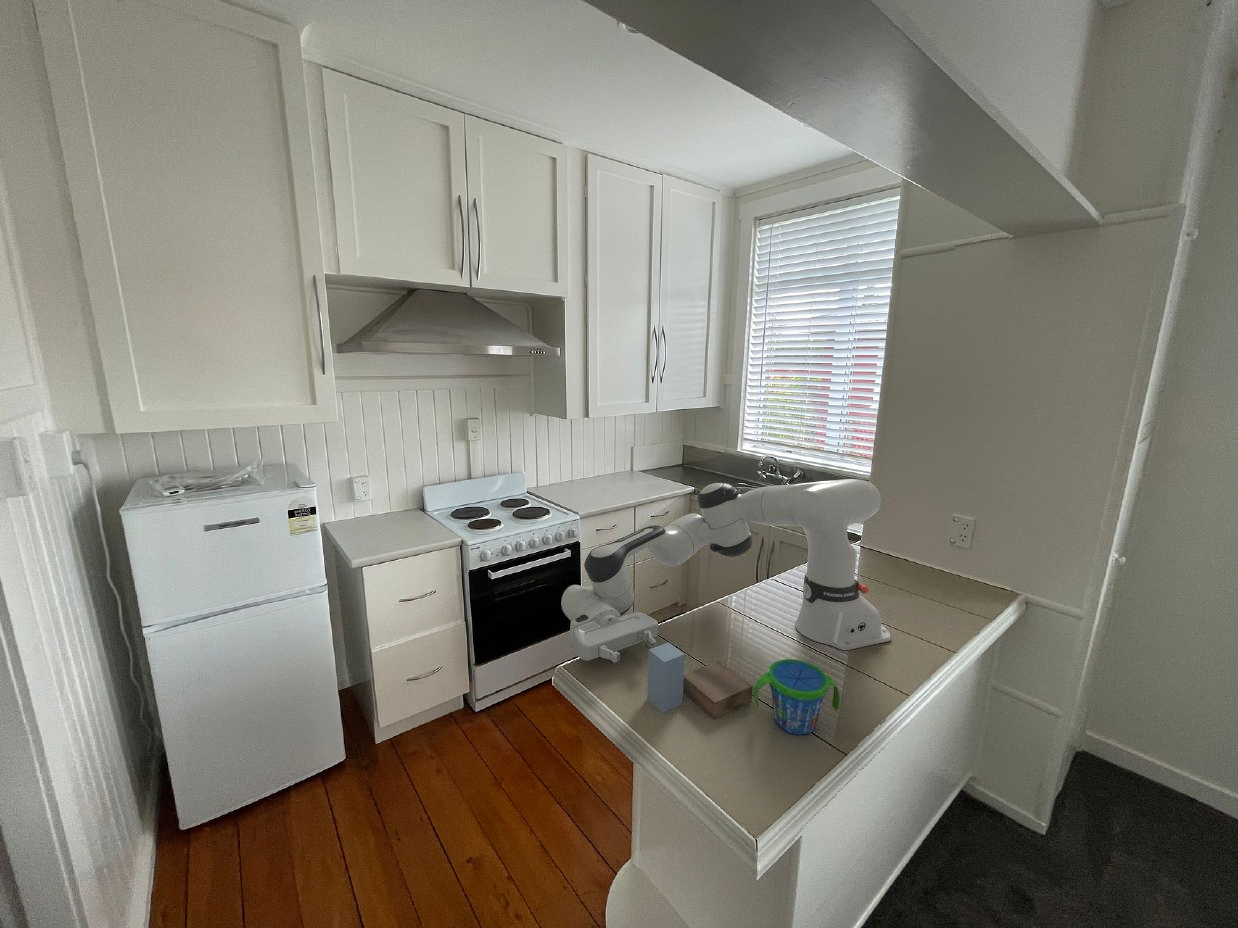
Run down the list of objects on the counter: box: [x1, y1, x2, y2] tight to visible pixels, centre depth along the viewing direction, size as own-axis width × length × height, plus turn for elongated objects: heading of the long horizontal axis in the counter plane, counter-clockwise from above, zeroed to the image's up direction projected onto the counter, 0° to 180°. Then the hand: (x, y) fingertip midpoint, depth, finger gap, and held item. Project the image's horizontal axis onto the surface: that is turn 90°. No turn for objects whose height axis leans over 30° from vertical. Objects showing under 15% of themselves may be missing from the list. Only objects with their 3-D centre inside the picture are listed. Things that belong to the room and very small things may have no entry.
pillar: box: [646, 642, 686, 714], centre depth 100 cm, size 5×5×11 cm
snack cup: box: [753, 658, 841, 735], centre depth 95 cm, size 16×10×10 cm
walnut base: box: [683, 660, 754, 720], centre depth 103 cm, size 10×10×4 cm
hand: (636, 651), depth 108 cm, fingers open, 8 cm apart
